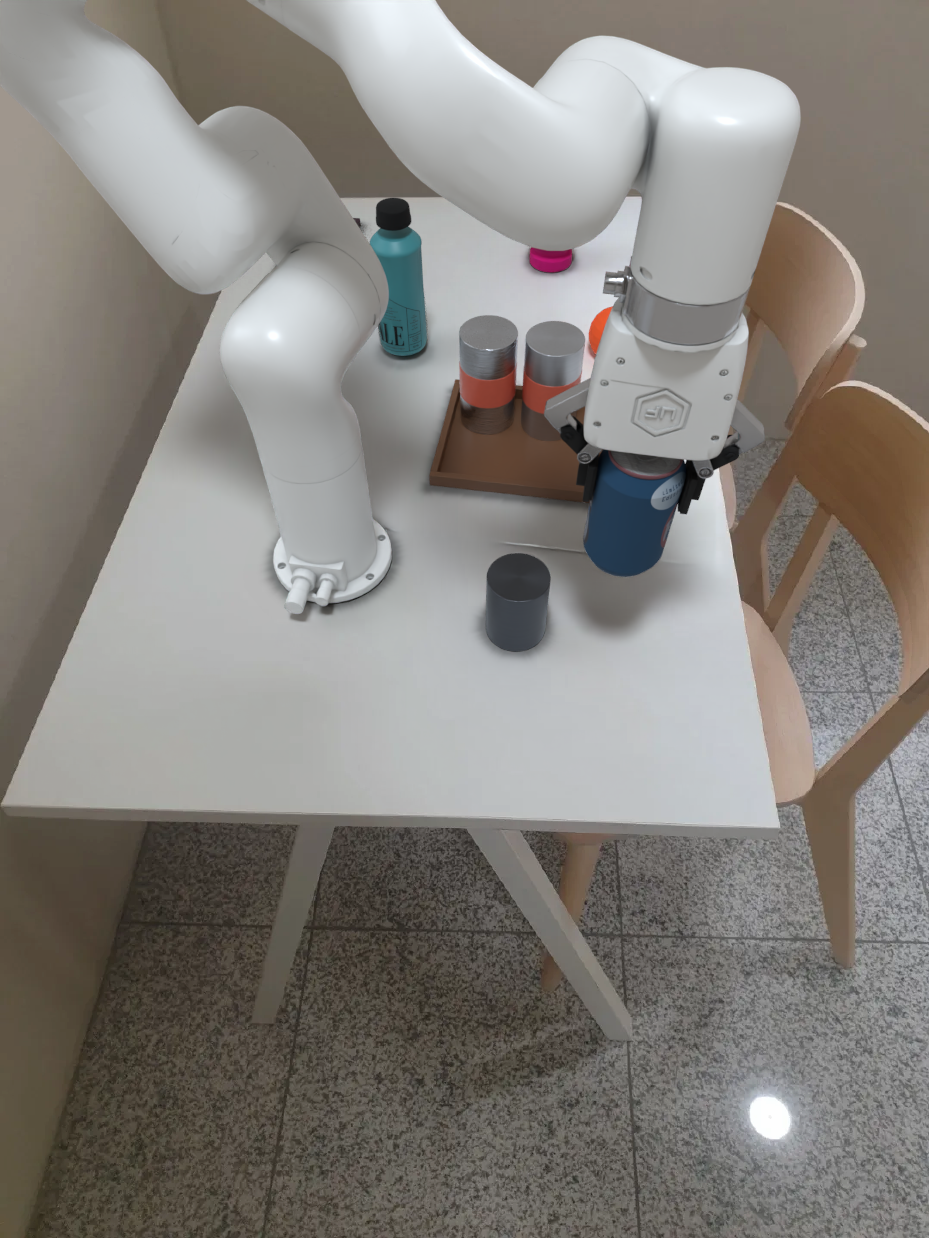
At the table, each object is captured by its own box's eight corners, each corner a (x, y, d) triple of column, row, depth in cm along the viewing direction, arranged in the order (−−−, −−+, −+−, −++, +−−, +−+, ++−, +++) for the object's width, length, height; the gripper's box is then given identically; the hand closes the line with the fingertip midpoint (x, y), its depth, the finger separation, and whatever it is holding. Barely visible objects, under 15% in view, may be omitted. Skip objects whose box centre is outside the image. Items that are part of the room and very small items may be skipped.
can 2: (572, 444, 100) (583, 359, 91) (517, 438, 101) (521, 353, 91) (577, 408, 104) (588, 323, 95) (523, 403, 105) (529, 318, 95)
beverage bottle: (431, 338, 114) (424, 190, 98) (425, 368, 110) (416, 219, 94) (384, 336, 114) (369, 188, 98) (376, 366, 110) (359, 216, 94)
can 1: (510, 437, 101) (514, 353, 91) (455, 432, 102) (454, 347, 92) (517, 402, 105) (522, 317, 95) (464, 397, 106) (463, 312, 96)
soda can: (673, 574, 72) (707, 472, 63) (598, 591, 71) (621, 489, 61) (641, 517, 76) (669, 413, 66) (569, 532, 75) (587, 428, 65)
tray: (617, 509, 94) (620, 496, 93) (429, 488, 97) (429, 475, 95) (625, 408, 105) (628, 395, 103) (455, 392, 107) (455, 379, 105)
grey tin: (541, 655, 83) (547, 605, 76) (481, 647, 83) (482, 597, 77) (548, 607, 86) (553, 556, 80) (490, 600, 87) (491, 549, 80)
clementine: (651, 349, 112) (660, 301, 106) (639, 379, 108) (649, 331, 102) (593, 337, 114) (599, 289, 108) (579, 367, 110) (585, 319, 104)
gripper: (542, 317, 52) (522, 515, 66) (828, 348, 51) (745, 544, 65) (554, 253, 57) (533, 451, 71) (818, 279, 55) (742, 477, 69)
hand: (635, 494), depth 68 cm, fingers closed on soda can, 7 cm apart
